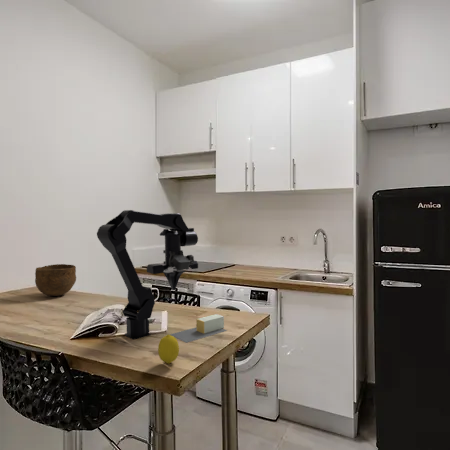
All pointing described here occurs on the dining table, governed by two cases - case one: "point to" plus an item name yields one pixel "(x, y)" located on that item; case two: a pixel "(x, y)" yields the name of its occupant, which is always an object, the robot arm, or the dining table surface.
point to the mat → (194, 334)
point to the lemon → (168, 349)
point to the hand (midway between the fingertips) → (173, 289)
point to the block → (210, 323)
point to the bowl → (55, 279)
